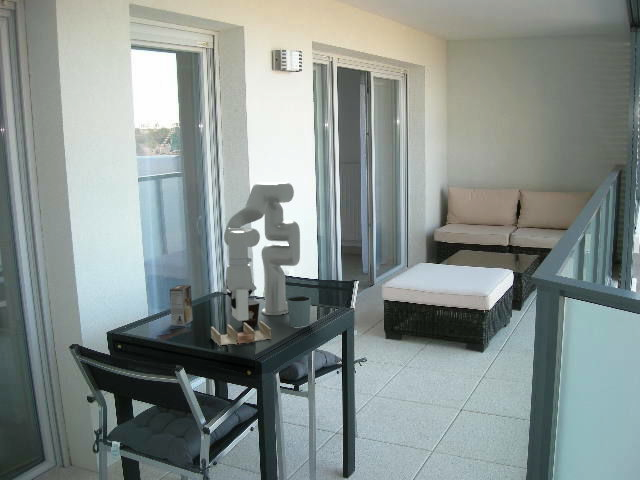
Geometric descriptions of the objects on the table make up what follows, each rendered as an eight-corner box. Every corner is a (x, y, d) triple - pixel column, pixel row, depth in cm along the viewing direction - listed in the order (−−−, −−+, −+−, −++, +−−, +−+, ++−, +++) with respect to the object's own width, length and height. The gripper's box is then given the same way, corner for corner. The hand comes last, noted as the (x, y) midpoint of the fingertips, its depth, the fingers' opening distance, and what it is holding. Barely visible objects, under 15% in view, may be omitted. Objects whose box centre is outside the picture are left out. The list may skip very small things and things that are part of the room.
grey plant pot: (315, 324, 297) (314, 296, 296) (304, 330, 288) (304, 302, 286) (294, 321, 302) (293, 294, 300) (283, 327, 293) (282, 300, 291)
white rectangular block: (241, 314, 281) (240, 285, 279) (248, 319, 272) (247, 290, 270) (232, 315, 280) (231, 286, 278) (238, 321, 270) (237, 290, 269)
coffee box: (179, 320, 307) (177, 284, 305) (193, 320, 306) (191, 285, 303) (171, 325, 298) (169, 289, 296) (184, 326, 297) (183, 289, 295)
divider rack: (261, 331, 287) (261, 320, 286) (271, 340, 275) (271, 328, 274) (211, 337, 279) (210, 326, 279) (219, 346, 267) (219, 335, 266)
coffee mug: (263, 323, 300) (262, 300, 298) (255, 328, 292) (254, 305, 290) (239, 321, 303) (238, 299, 302) (230, 326, 295) (229, 303, 294)
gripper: (256, 259, 279) (257, 303, 282) (215, 262, 273) (217, 307, 275) (261, 261, 272) (262, 307, 275) (220, 265, 266) (221, 311, 269)
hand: (239, 306), depth 275 cm, fingers closed on white rectangular block, 4 cm apart
